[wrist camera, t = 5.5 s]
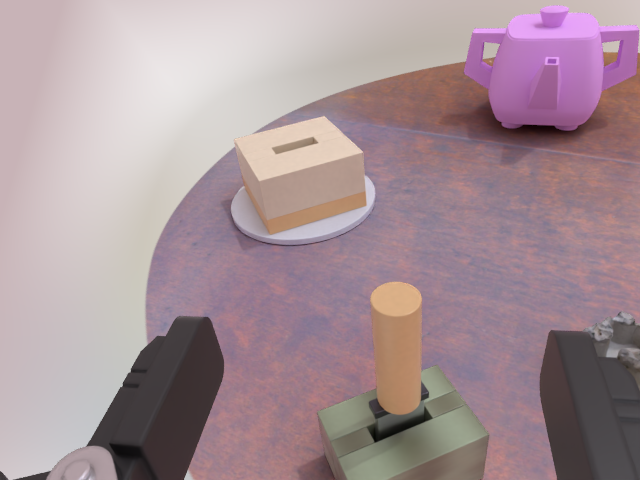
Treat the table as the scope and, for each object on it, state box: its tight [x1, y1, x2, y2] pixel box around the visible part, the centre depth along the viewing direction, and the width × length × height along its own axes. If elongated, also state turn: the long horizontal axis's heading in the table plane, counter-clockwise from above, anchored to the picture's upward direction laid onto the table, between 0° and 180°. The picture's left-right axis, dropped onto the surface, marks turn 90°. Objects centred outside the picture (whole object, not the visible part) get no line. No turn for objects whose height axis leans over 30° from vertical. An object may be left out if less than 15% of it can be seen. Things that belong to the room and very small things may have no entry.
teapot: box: [464, 5, 639, 131], centre depth 73 cm, size 19×18×15 cm
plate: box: [231, 175, 376, 245], centre depth 64 cm, size 18×18×1 cm
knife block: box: [317, 365, 489, 480], centre depth 34 cm, size 9×6×5 cm, turn 111°
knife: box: [369, 282, 429, 442], centre depth 31 cm, size 4×3×16 cm
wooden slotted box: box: [234, 116, 367, 235], centre depth 62 cm, size 12×12×7 cm
